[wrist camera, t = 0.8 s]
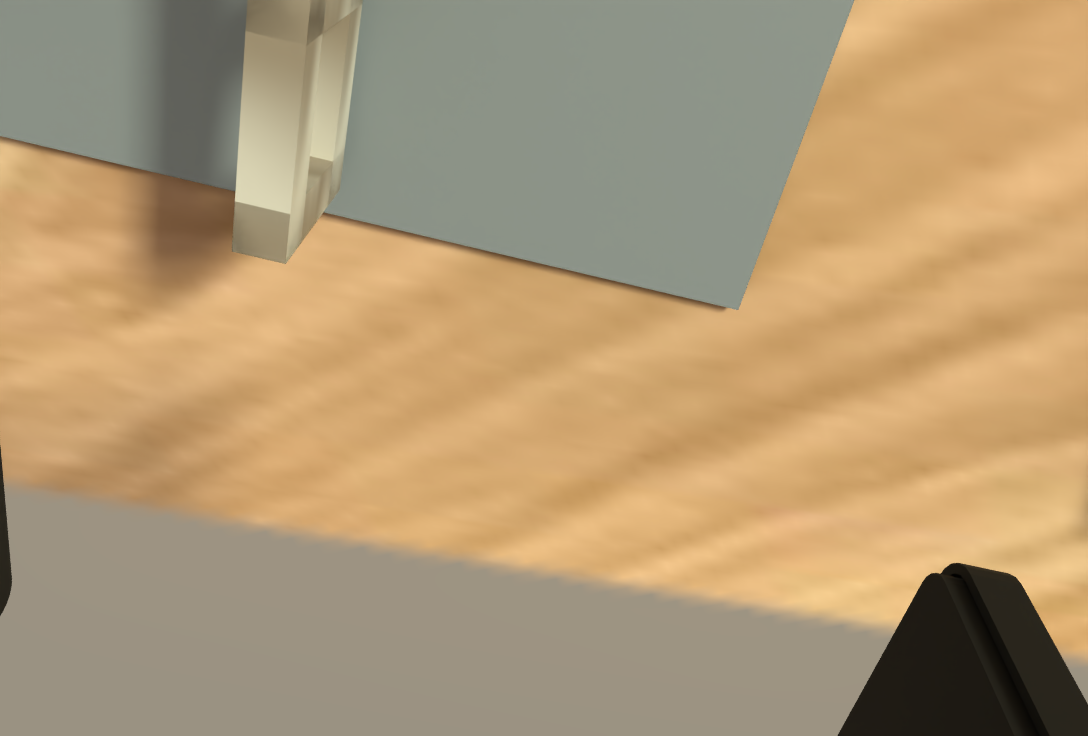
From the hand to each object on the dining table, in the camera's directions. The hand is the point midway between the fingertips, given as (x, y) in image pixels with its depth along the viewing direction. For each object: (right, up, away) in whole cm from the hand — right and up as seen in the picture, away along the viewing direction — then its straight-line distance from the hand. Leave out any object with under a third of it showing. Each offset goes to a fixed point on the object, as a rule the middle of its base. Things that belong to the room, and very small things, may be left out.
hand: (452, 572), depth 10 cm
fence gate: (-4, +11, +13) cm, 18 cm away
